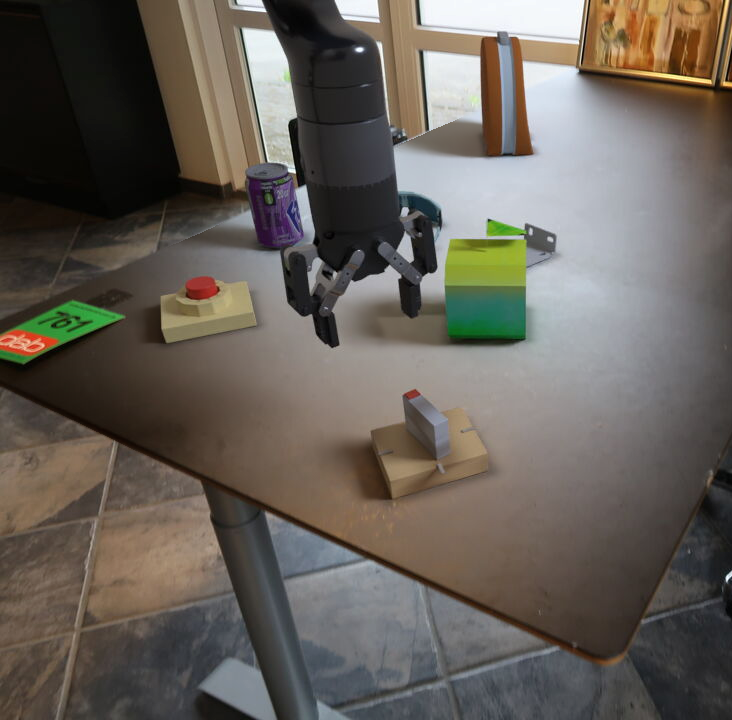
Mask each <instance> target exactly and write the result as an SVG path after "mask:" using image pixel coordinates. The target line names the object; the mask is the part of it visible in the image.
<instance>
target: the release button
mask: <svg viewBox="0 0 732 720" xmlns="http://www.w3.org/2000/svg"><path fill="white" fill-rule="evenodd" d="M215 280H216V279H215V277H214V278H213V277H212V276H206V275H202V276H196V277H192V278H191V279H188V280H187V281H186V282H185V284H184V286H185V287H186V290H187V294H188V297H189V298H190V299H191V300H203V299H208V298H210V297H213V296H215V295H216V294H217V293H218V290H217V286H216V283H215Z"/></svg>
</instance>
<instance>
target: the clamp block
mask: <svg viewBox="0 0 732 720" xmlns="http://www.w3.org/2000/svg"><path fill="white" fill-rule="evenodd" d="M440 412H441V413H442V414H443V415H444V416H445V417H446V418H447V419H448V427H449V441H450V454H449V455H447V456H445V457H443V458H441V459H439V460H436V459H435V458H434V457H433V456H432V455H431V454H430V453H429V451H428V450H427V449H426V448H425V447H424V446H423V445H422V444H421V443H420V442H419V441H418V440H417V439H416V438H415V437H414V436H413V435H412V434H411V433H410V432H409V431H408V430H407V429H406V422H405V421H401V422H398V423H394V424H390V425H387V426H383V427H377V428H375V429H374V428H373V429H371V430H370V437H371V444H372V449H373V451H374V454H375V457H376V459H377V460H376V461H377V462H378V464H379V467H380V470H381V473H382V476H383V478H384V480H385V484H386V486H387V489H388V491H389V494H390V496H391V499H392V500H394V499H398V498H401V497H405V496H409V495H411V494H414V493H417V492H422V491H425V490H428V489H431V488H435V487H438V486H442V485H445V484H448V483H451V482H453V481H454V482H455V481H458V480H462V479H465V478H468V477H471V476H475V475H478V474H482V473H485V472H488V471H489V456H488V454H489V453H488V451H487V449H486V448H485V446H484V444H483V442H482V441H481V439H480V437H479V435H478V434H477V431H476V426H473V425H472V422H471V421H470V419H469V417H468V416H467V413H466V412H465V410H464V409H463V406H459V407H455V408H452V409H447V410H444V411H440Z"/></svg>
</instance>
